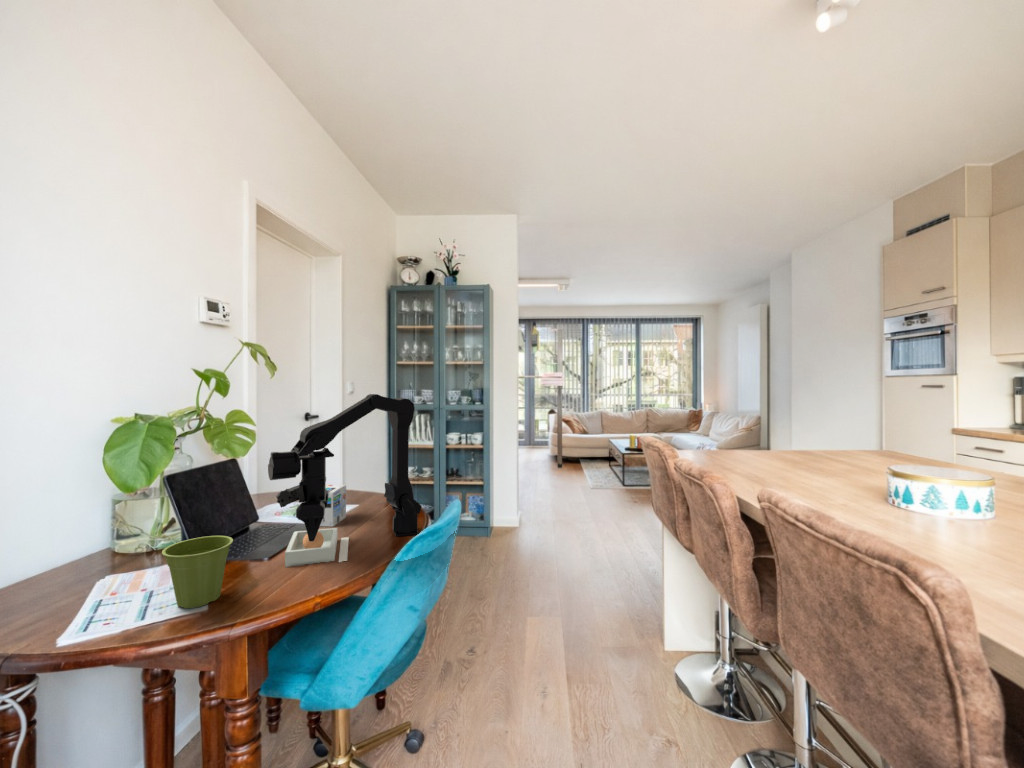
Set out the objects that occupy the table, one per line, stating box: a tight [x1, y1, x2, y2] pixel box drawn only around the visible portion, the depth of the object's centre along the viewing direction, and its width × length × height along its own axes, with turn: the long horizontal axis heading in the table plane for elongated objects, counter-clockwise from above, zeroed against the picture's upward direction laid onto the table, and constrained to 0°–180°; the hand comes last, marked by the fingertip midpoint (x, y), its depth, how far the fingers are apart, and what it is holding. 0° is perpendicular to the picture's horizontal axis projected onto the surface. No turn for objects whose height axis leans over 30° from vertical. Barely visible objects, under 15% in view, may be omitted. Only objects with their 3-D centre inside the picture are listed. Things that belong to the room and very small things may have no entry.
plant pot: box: [161, 535, 234, 609], centre depth 91 cm, size 12×12×11 cm
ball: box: [303, 532, 324, 549], centre depth 118 cm, size 5×5×5 cm
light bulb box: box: [320, 484, 347, 528], centre depth 144 cm, size 11×7×11 cm, turn 179°
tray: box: [284, 527, 338, 568], centre depth 118 cm, size 11×16×4 cm
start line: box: [338, 536, 350, 563], centre depth 120 cm, size 2×18×1 cm, turn 19°
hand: (313, 535), depth 118 cm, fingers open, 9 cm apart
